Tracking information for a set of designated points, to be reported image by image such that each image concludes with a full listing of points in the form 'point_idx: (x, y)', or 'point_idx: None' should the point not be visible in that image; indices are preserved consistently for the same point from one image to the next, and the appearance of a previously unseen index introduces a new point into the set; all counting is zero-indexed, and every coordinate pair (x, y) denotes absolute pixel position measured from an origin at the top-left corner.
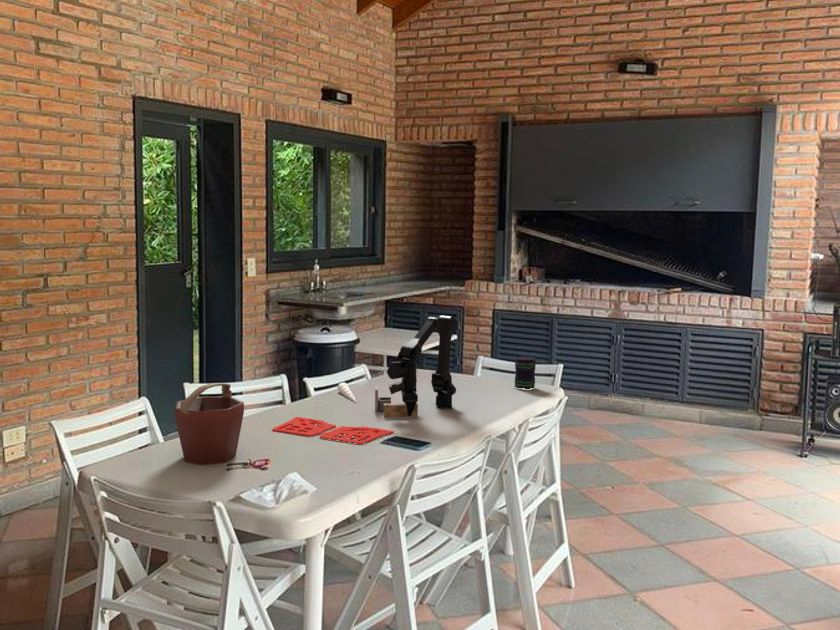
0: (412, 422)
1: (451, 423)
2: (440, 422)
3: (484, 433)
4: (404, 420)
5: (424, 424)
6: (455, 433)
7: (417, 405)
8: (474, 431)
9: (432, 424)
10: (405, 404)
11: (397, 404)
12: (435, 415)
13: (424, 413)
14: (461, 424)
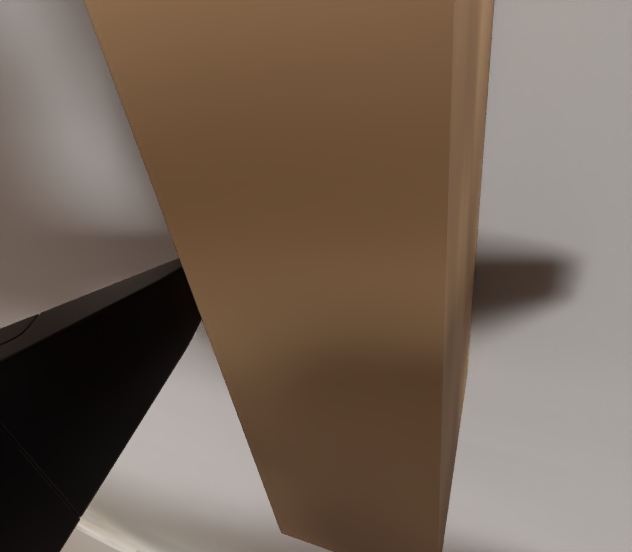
0: (100, 258)
1: (198, 501)
2: (199, 462)
3: (87, 524)
4: (141, 167)
5: None
6: None
7: (284, 525)
8: (95, 512)
9: None
10: (302, 365)
11: (235, 80)
12: (452, 523)
13: (588, 478)
14: (195, 529)
